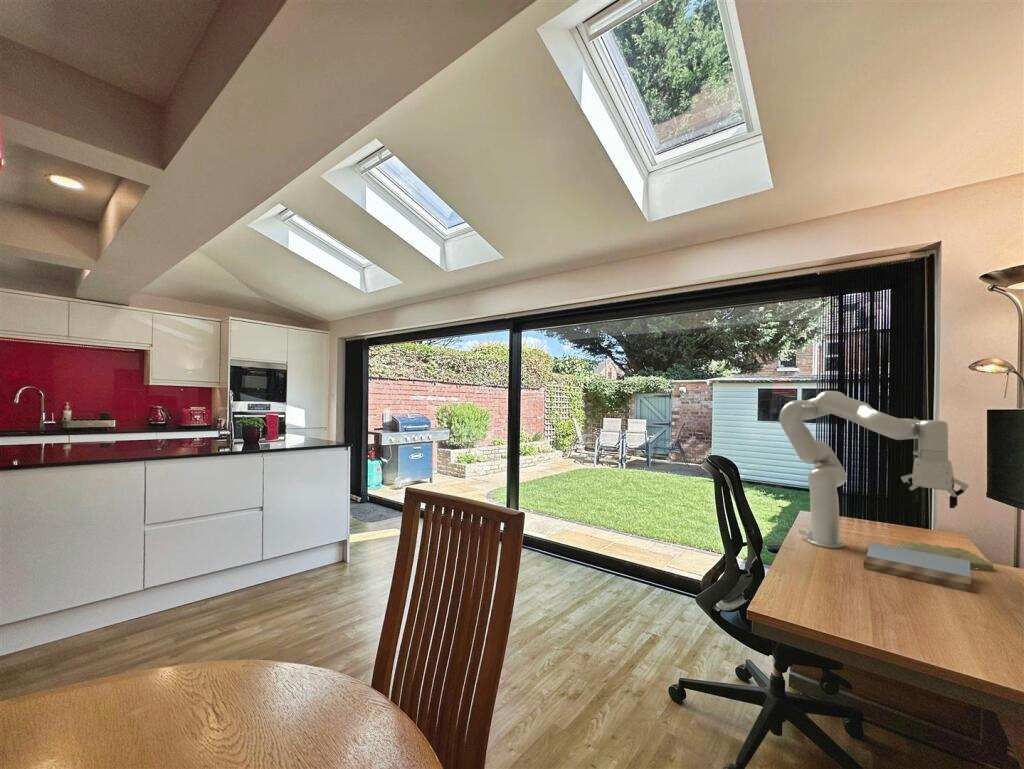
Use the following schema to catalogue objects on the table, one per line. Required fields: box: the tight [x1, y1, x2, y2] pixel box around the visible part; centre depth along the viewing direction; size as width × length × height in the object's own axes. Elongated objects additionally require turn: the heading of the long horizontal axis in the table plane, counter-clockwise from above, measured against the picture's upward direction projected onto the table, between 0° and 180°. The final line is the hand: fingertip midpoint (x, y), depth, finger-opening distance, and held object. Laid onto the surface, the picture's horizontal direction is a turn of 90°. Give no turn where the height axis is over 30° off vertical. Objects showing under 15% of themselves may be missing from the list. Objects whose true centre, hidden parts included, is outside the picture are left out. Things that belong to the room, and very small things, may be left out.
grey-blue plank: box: [866, 541, 972, 577], centre depth 152 cm, size 26×8×2 cm, turn 45°
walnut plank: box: [863, 555, 972, 593], centre depth 146 cm, size 26×8×2 cm, turn 45°
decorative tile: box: [898, 541, 994, 572], centre depth 163 cm, size 19×20×4 cm
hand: (933, 504), depth 152 cm, fingers open, 9 cm apart
